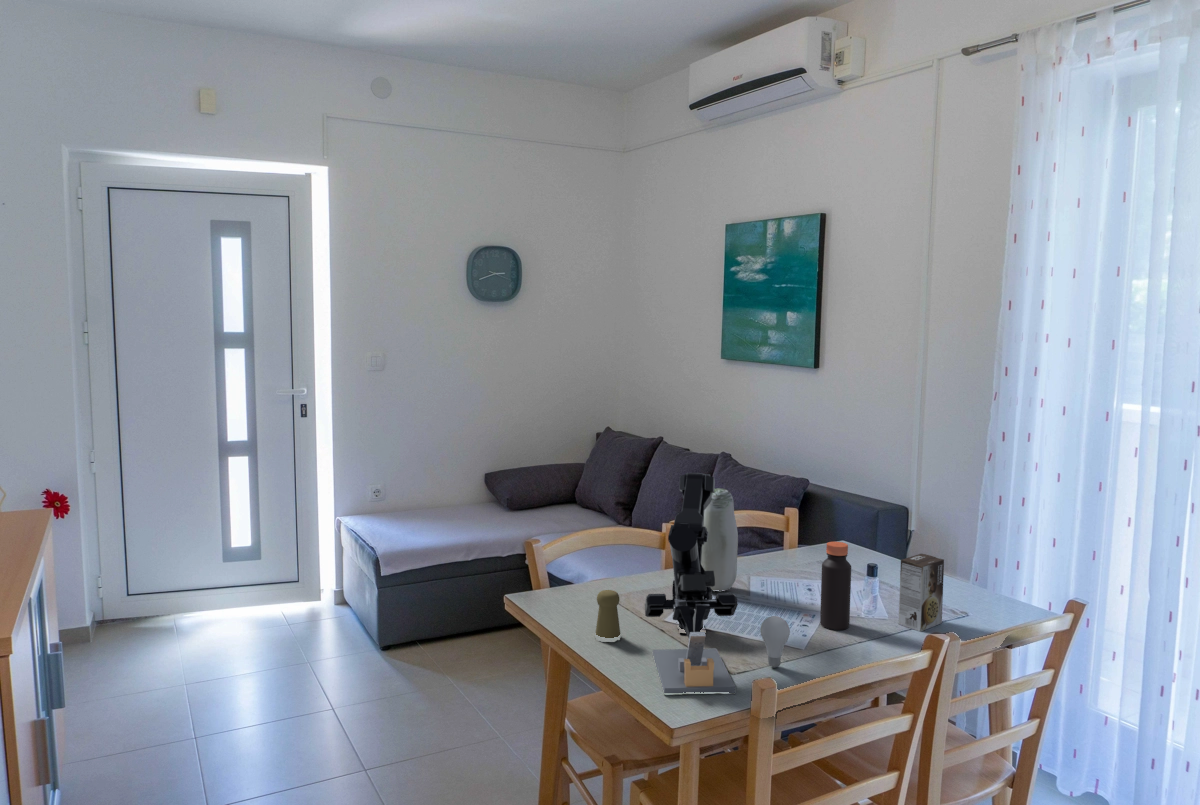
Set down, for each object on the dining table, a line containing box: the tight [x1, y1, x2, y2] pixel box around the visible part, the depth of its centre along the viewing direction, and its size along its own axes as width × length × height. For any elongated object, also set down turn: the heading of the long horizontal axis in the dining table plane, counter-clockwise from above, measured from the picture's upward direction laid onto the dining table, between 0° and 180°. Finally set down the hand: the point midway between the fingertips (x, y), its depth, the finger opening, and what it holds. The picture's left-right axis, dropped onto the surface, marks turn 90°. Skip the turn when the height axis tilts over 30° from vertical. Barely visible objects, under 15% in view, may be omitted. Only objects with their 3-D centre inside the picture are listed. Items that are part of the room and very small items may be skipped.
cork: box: [595, 589, 621, 638], centre depth 190 cm, size 6×6×11 cm
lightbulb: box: [759, 615, 791, 668], centre depth 174 cm, size 6×6×11 cm
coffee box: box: [898, 553, 945, 632], centre depth 199 cm, size 9×6×16 cm
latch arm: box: [686, 632, 706, 666], centre depth 167 cm, size 10×3×1 cm
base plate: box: [652, 647, 736, 694], centre depth 171 cm, size 19×14×6 cm
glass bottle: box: [701, 487, 739, 591], centre depth 223 cm, size 10×10×28 cm
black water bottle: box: [819, 541, 852, 631], centre depth 198 cm, size 7×7×20 cm
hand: (694, 644), depth 167 cm, fingers closed, pressing on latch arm
